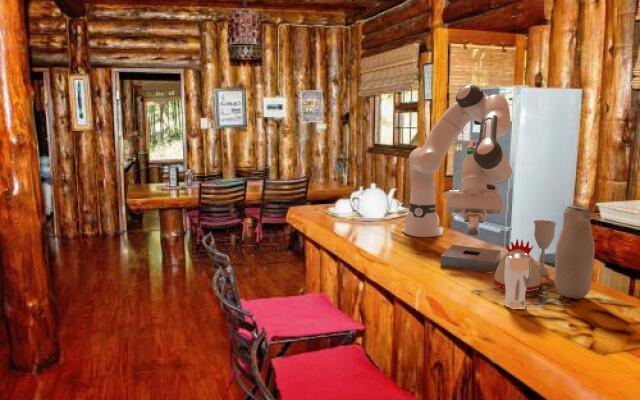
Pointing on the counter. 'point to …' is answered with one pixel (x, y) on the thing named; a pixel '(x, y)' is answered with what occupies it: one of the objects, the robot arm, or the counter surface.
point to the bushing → (473, 222)
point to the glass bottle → (574, 253)
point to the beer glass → (516, 278)
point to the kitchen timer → (534, 274)
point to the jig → (471, 258)
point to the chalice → (544, 240)
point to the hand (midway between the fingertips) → (473, 221)
